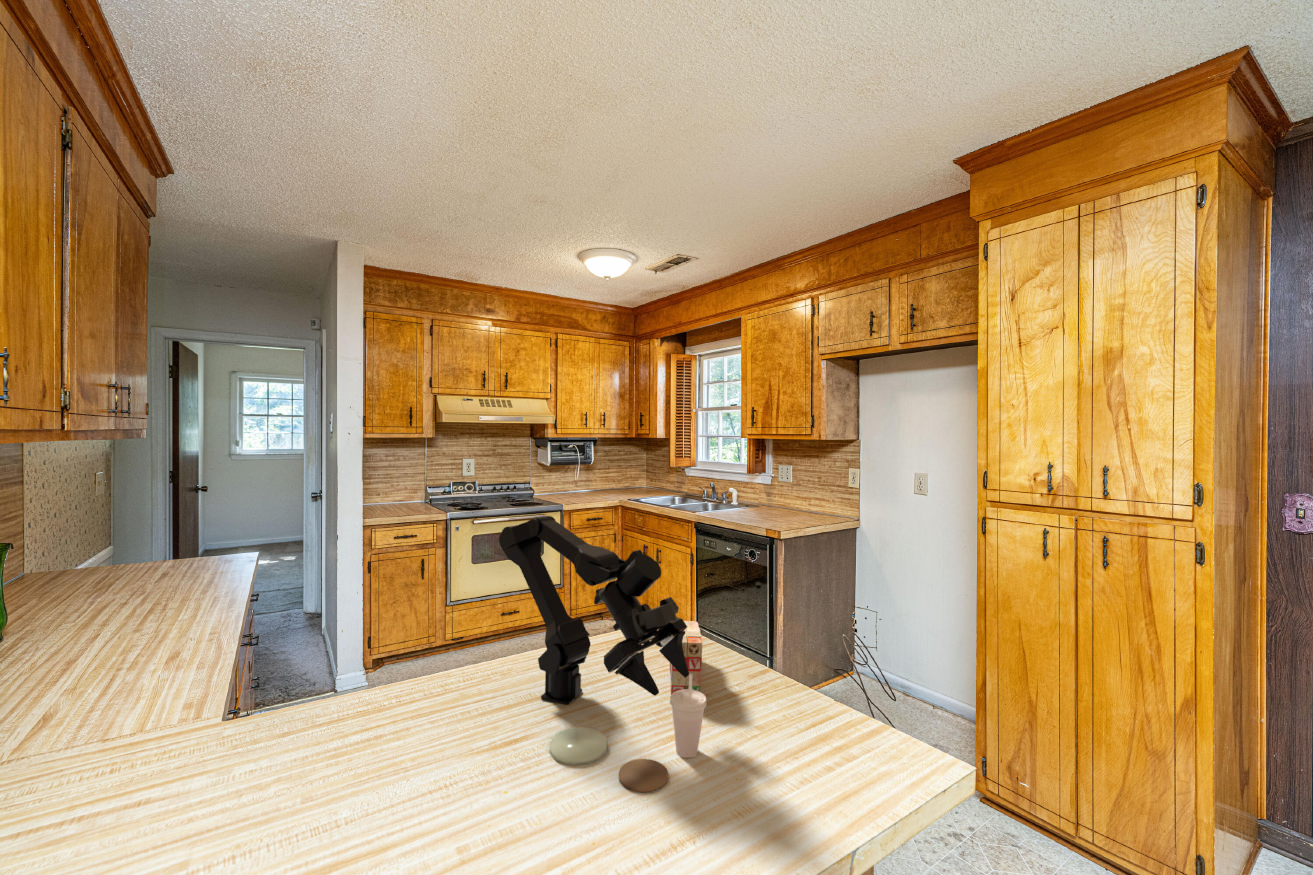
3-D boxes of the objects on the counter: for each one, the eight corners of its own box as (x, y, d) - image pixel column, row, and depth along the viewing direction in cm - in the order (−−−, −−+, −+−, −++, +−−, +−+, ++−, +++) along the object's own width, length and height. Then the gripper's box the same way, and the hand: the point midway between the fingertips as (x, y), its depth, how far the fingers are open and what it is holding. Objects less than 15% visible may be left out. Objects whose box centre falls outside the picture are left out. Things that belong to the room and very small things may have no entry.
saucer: (538, 757, 98) (538, 751, 98) (566, 728, 107) (566, 722, 107) (591, 770, 95) (592, 764, 95) (616, 739, 104) (616, 733, 104)
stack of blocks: (668, 657, 141) (670, 607, 141) (694, 658, 141) (695, 608, 141) (670, 699, 120) (672, 641, 120) (700, 700, 120) (702, 641, 120)
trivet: (610, 785, 91) (611, 781, 91) (629, 758, 98) (629, 754, 98) (658, 797, 88) (658, 793, 88) (674, 768, 96) (674, 765, 96)
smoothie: (679, 766, 97) (682, 683, 96) (661, 746, 102) (664, 668, 102) (712, 756, 99) (714, 676, 99) (692, 738, 105) (695, 662, 105)
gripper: (617, 597, 98) (668, 680, 92) (680, 575, 113) (728, 645, 106) (583, 632, 103) (629, 713, 96) (647, 607, 118) (691, 676, 111)
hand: (672, 684), depth 103 cm, fingers open, 9 cm apart
